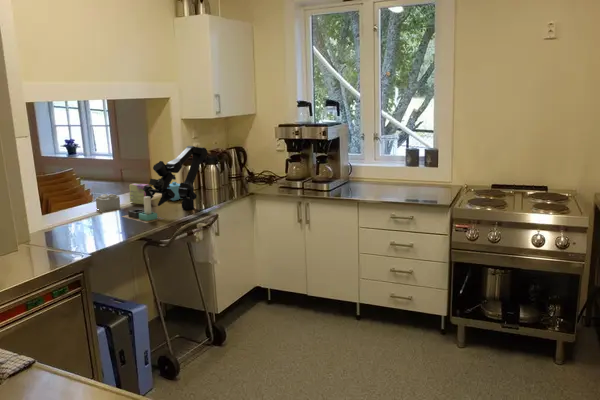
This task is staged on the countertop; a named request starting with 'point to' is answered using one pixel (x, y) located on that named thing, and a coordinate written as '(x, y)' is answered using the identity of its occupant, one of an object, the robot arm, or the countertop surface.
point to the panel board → (135, 216)
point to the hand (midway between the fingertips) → (151, 204)
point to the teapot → (175, 190)
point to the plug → (147, 205)
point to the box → (137, 193)
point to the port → (148, 216)
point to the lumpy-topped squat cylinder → (108, 202)
